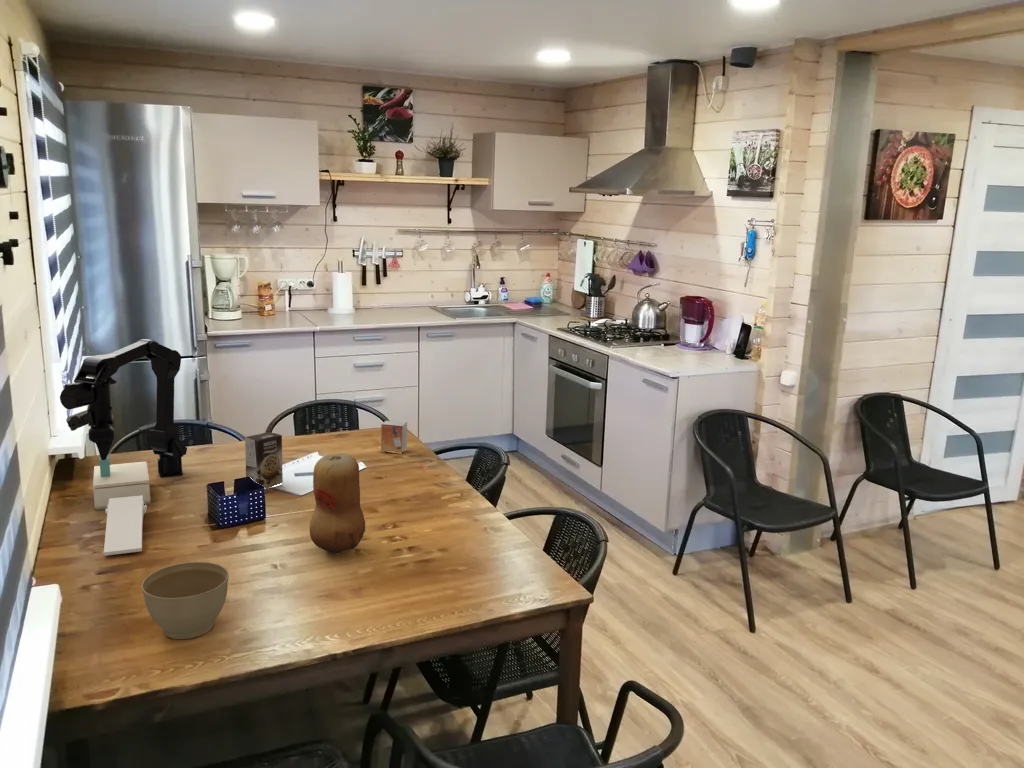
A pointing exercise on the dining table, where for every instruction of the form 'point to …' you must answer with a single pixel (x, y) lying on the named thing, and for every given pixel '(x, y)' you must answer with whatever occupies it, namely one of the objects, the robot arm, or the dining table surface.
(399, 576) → the dining table surface
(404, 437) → the small box
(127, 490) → the carton
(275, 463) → the coffee box
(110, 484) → the cover panel
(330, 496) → the butternut squash
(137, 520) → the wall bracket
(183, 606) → the planter bowl
